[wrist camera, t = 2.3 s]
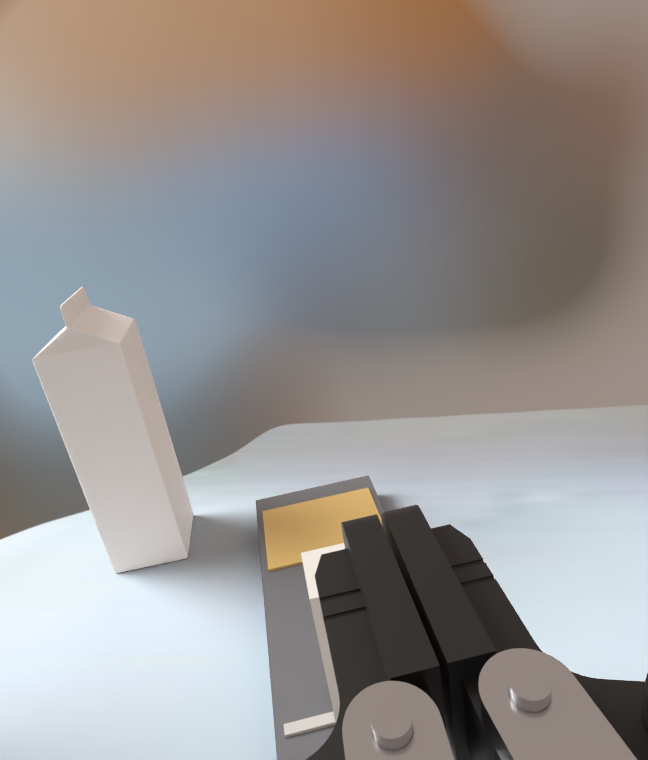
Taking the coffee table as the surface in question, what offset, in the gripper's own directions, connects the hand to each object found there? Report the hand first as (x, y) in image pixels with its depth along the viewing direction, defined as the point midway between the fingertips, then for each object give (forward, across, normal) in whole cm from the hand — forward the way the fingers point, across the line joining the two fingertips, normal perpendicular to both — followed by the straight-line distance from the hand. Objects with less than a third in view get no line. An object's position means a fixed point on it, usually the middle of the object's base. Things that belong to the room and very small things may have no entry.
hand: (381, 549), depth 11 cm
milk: (+32, +14, +22) cm, 41 cm away
